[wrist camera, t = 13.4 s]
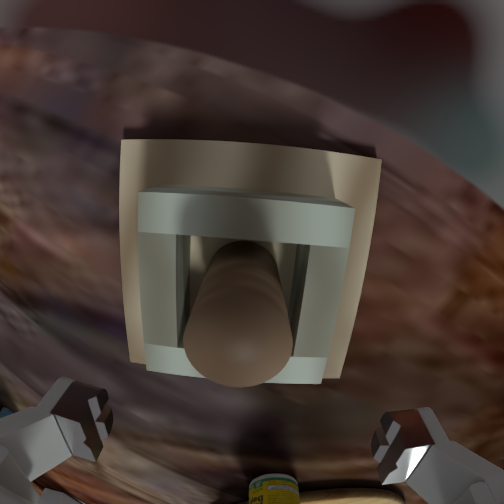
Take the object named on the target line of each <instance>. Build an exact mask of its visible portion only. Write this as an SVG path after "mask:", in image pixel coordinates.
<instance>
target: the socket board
mask: <svg viewBox="0 0 504 504" xmlns="http://www.w3.org/2000/svg"><path fill="white" fill-rule="evenodd" d="M381 161H382V160H381V159H375V158H370V157H364V156H358V155H351V154H345V153H338V152H331V151H324V150H316V149H308V148H299V147H290V146H280V145H270V144H258V143H245V142H230V141H211V140H180V139H128V140H122V141H121V159H120V195H119V219H120V255H121V274H122V288H123V301H124V312H125V321H126V330H127V339H128V347H129V354H130V361H131V362H135V363H141V364H146V367H147V370H149V371H155V372H162V373H169V374H176V375H184V376H193V377H201V378H206V377H204V376H203V375H201V374H200V373H199V372H198V371H197V370H196V369H195V368H194V367H193V366H192V364H191V363H190V361H189V360H188V358H187V356H186V353H185V350H184V344H183V336H184V331H185V328H186V325H187V322H188V320H189V317H190V314H191V311H192V309H193V306H194V303H195V300H196V298H197V295H198V292H199V290H200V287H201V284H202V282H203V279H204V276H205V274H206V271H207V268H208V266H209V263H210V261H211V259H212V257H213V255H214V254H215V253H216V252H217V251H218V250H219V249H220V248H221V247H223V246H224V245H226V244H229V243H231V242H235V241H250V242H254V243H257V244H259V245H261V246H263V247H264V248H265V249H267V250H268V251H269V252H270V253H271V255H272V256H273V258H274V259H275V262H276V264H277V268H278V273H279V277H280V282H281V286H282V291H283V296H284V300H285V305H286V310H287V314H288V319H289V324H290V329H291V333H292V339H293V348H292V353H291V356H290V359H289V361H288V362H287V364H286V366H285V367H284V368H283V369H282V371H280V372H279V373H278V374H277V375H276V376H274V377H273V378H272V379H270V380H268V381H266V382H265V383H293V384H321V381H322V378H340V375H341V371H342V367H343V364H344V360H345V357H346V353H347V349H348V345H349V341H350V337H351V333H352V329H353V325H354V321H355V317H356V313H357V308H358V304H359V299H360V295H361V290H362V285H363V280H364V275H365V270H366V265H367V259H368V254H369V248H370V243H371V237H372V230H373V224H374V217H375V211H376V203H377V196H378V188H379V180H380V171H381Z"/></svg>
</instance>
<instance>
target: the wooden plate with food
mask: <svg viewBox="0 0 504 504" xmlns="http://www.w3.org/2000/svg"><path fill="white" fill-rule="evenodd" d="M299 499H300V504H405V502H404V500H403V499H402V498H401V496H399V495H398V494H396V493H394V492H392V491H389V490H384V489H376V488H336V489H323V490H313V491H304V492H299ZM236 504H249V500H248V501H244V502H240V503H236Z"/></svg>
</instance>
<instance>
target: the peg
mask: <svg viewBox="0 0 504 504" xmlns="http://www.w3.org/2000/svg"><path fill="white" fill-rule="evenodd" d="M183 344H184V350H185V353H186V356H187V358H188V360H189V361H190V363H191V364H192V366H193V367H194V368H195V369H196V370H197V371H198V372H199V373H200V374H201V375H203V376H204V377H206V378H207V379H209V380H211V381H213V382H215V383H218V384H221V385H225V386H230V387H249V386H254V385H258V384H261V383H264V382H266V381H268V380H270V379H272V378H273V377H274V376H276V375H277V374H278V373H279V372H280V371H282V369H283V368H284V367H285V366H286V364H287V362H288V361H289V359H290V356H291V353H292V348H293V339H292V333H291V329H290V324H289V319H288V314H287V310H286V305H285V300H284V296H283V291H282V286H281V282H280V277H279V273H278V268H277V264H276V262H275V259H274V258H273V256H272V255H271V253H270V252H269V251H268V250H267V249H265V248H264V247H263V246H261V245H259V244H257V243H254V242H250V241H235V242H231V243H229V244H226V245H224V246H223V247H221V248H220V249H219V250H218V251H217V252H216V253H215V254H214V255H213V257H212V259H211V261H210V263H209V266H208V268H207V271H206V274H205V276H204V279H203V282H202V284H201V287H200V290H199V292H198V295H197V298H196V300H195V303H194V306H193V309H192V311H191V314H190V317H189V320H188V322H187V325H186V328H185V331H184V336H183Z"/></svg>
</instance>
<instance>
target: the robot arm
mask: <svg viewBox="0 0 504 504" xmlns="http://www.w3.org/2000/svg"><path fill="white" fill-rule="evenodd" d="M108 399H109V398H108V394H107V391H106V390H105V389H103V388H99V387H96V386H92V385H89V384H86V383H82V382H79V381H75V380H72V379H69V378H66V377H60V378H58V380H57V381H56V382H55V383H54V385H53V386H52V387H51V388H50V390H49V391H48V392H47V393H46V395H45V396H44V397H43V399H42V400H41V401H40V402H39V404H38V405H37V406H36V408H35V407H32V406H31V407H29V408H26V409H24V410H21V411H18V412H16V413H13V414H11V415H8V416H5V417H3V418H0V504H37V502H38V500H39V498H40V495H39V493H38V491H37V490H36V489H35V488H34V486H33V485H32V484H31V481H33V480H34V479H36V478H37V477H39V476H41V475H42V474H44V473H46V472H47V471H49V470H50V469H52V468H53V467H55V466H57V465H58V464H60V463H61V462H63V461H64V460H66V459H67V458H69V457H70V456H72V455H75V456H78V457H81V458H85V459H88V460H91V461H94V462H96V461H97V459H98V457H99V455H100V453H101V450H102V448H103V444H102V441H101V440H103V439H105V438H106V437H108V436H109V434H110V432H111V429H112V424H113V413H112V409H111V408H110V407H109V406H108V405H107V404H106V402H107V401H108ZM380 422H381V425H382V426H381V427H379V428H378V429H377V430H375V432H374V435H373V437H372V442H371V450H372V455H373V458H374V459H375V460H377V461H378V462H379V465H378V467H377V471H378V475H379V478H380V481H381V484H382V485H385V484H392V483H399V482H405V481H407V482H406V483H407V484H408V485H409V486H410V487H411V488H412V489H413V490H414V491H416V492H417V493H418V494H419V495H420V496H421V497H422V498H423V499H424V500H425V501H426V502H428V503H429V504H504V470H502V469H501V468H499V467H497V466H495V465H494V464H492V463H490V462H488V461H487V460H485V459H483V458H482V457H480V456H478V455H476V454H475V453H473V452H471V451H470V450H468V449H466V448H465V447H463V446H461V445H460V444H458V443H456V442H455V441H449V439H448V437H447V436H446V434H445V432H444V430H443V428H442V427H441V425H440V423H439V421H438V420H437V418H436V416H435V414H434V413H433V411H432V409H431V408H429V407H425V408H418V409H410V410H401V411H391V412H385V413H384V414H383V416H382V418H381V420H380ZM71 454H72V455H71Z"/></svg>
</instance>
